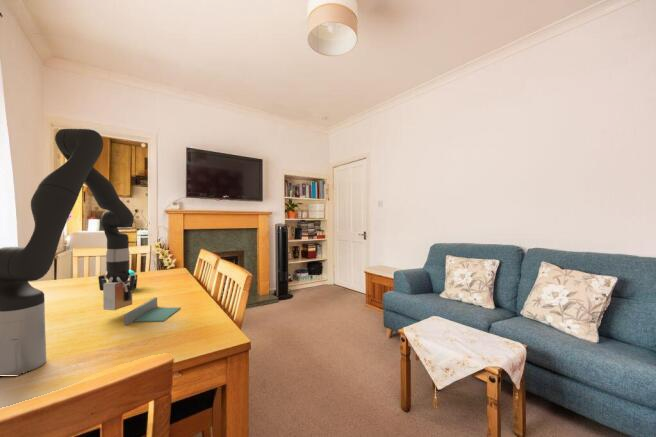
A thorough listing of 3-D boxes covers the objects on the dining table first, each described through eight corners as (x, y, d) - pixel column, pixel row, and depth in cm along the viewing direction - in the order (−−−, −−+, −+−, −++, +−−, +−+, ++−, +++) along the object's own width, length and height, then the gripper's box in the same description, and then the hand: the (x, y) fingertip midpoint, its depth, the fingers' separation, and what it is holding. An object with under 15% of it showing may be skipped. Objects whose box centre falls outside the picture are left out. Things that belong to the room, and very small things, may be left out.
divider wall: (127, 325, 104) (127, 314, 104) (124, 325, 104) (124, 314, 104) (157, 306, 124) (157, 297, 124) (154, 306, 124) (154, 297, 124)
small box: (114, 311, 108) (114, 284, 108) (102, 309, 109) (102, 283, 109) (132, 304, 116) (132, 279, 116) (121, 303, 117) (121, 278, 117)
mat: (163, 321, 108) (163, 320, 107) (133, 321, 107) (133, 320, 107) (180, 308, 121) (180, 307, 121) (154, 308, 121) (154, 307, 121)
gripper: (92, 261, 108) (92, 303, 108) (130, 261, 109) (130, 303, 109) (106, 258, 116) (106, 297, 116) (142, 257, 116) (142, 297, 117)
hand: (118, 300), depth 113 cm, fingers closed on small box, 6 cm apart
